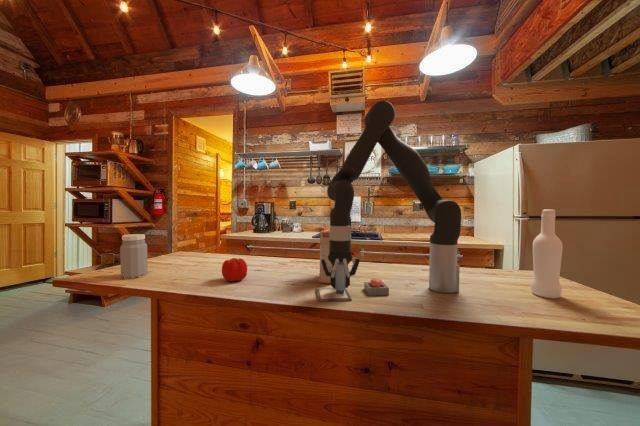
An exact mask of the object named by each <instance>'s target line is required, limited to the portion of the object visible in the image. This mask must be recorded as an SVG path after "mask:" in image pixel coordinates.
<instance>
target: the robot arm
mask: <svg viewBox="0 0 640 426" xmlns="http://www.w3.org/2000/svg"><path fill="white" fill-rule="evenodd" d="M395 117H396V110H395V107H394V106H393V104H392V103H391V102H389V101H387V100H380V101H377V102H376V103H374V104H373V105H372V106H371V108H370V109H368V112H367V113H366V114H365V115H364V120H363V122H364V130H363V131H362V133H361V135H360V136H359V138H358V139H357V141H356V142H355V144H354V146H353V147H352V148H351V149H350V151H349V153H348V155H347V157H346V159H345V160H344V162H343V164H342V166H341V167H340V169H339V170H338V171H337V172H336V174H335V175H334V176H333V177H332V180H331V181H330V182H329V184H328V186H327V189H326V190H327V191H326V194H327V197H328V198H329V199H330V200H331V201H332V202H334V206H333V208H332V209H331V210H330V213H329V229H330V230H329V255H328V257H327V258H324V259H323V258H322V259H321V262H322V265H323V268H324V271H325V274H326V276H330V287H332V288H335V277H334V276H335V272H336V269H337V266H338V262H339V261H343V263H344V267H345V272H346V289H348V288H349V287H350V286H351V277H352V276H356V272H357V270H358V267H359V264H360V261H361V260H360V259H359V258H358V257H354V256H353V255H352V230H351V228H352V227H351V212H352V209H353V204H354V198H355V189H354V186H353V184H352V183H353V182H354V181H356V180H357V179H359V178H360V176H361V174H362V172H363V170H364V169H365V166H366V165H367V162H368V161H369V158H370V157H371V155H372V153H373V152H374V149H375V147H376V145H377V143H378V144H379V146H380V147H381V148H382V149H383V151H384V152H385V154H386V155H387V156H388V158H389V160H390V161H391V162H392V163H393V165H394V167H395V168H396V170H397V172H398V173H399V174H400V176H401V177H402V178H403V180H404V181H405V182H406V184H407V185H408V187H409V188H410V189H411V191H412V192H413V193H414V195H415V196H416V197H417V199H418V200H419V202H420V204H421V206H422V208H423V209H424V212H425V214H426V215H427V217H428V219H429V220H430V221H431V222H433V223H434V226H433V227H434V228H433V233H431V234H430V237H429V267H428V268H429V271H428V273H429V274H428V280H429V281H428V288H429V289H430V290H431V291H433V292H436V293H440V294H441V293H444V294H454V293H457V292H460V273H461V271H460V269H461V268H460V267H461V266H460V264H458V240H459V238H460V235H461V228H462V227H461V226H462V210H461V207H460V205H459V204H458V203H457V202H456V201H454V200H451V199H444V198H443V197H442V195H441V194H440V193H439V192H438V190H437V189H436V188H435V186H434V183H433V182H432V181H433V180H432V177H431V173H430V171H429V168H428V165H427V164H426V162H425V161H424V159H423V158H422V155H420V154H419V152H418V151H417V150H416V149H415V148H413V147H412V146H411V145H409V144H407V143H406V142H404V141H402V140H401V139H400V138H399V137H398V136H397V135H396V134H395V132H394V131H393V129H392V128H391V125H392V123H393V122H394V121H395V120H394V119H395ZM328 260H329V261H330V262H331V264H332V268H331V272H329V271H328V269H327V266H326V264H327V263H328ZM351 262H352V266H351V269H349V266H348V265H349V264H350V263H351Z"/></svg>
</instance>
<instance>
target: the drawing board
mask: <svg viewBox="0 0 640 426" xmlns="http://www.w3.org/2000/svg"><path fill="white" fill-rule="evenodd" d="M347 289H348V288H346V289H345V290H344V294H337V293H336V290H335V289H334V288H333V287H332V288H316V289H315V291H316V299H317V302H318V303H319V302H321V303H323V302H326V303H327V302H328V303H329V302H352V301H353V299H352V297H351V295H350V293H349V291H348V290H347Z"/></svg>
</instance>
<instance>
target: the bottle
mask: <svg viewBox="0 0 640 426" xmlns="http://www.w3.org/2000/svg"><path fill="white" fill-rule="evenodd" d="M556 217H557V216H556V210H555V209H549V208H548V209H542V211H541V215H540V218H541V221H540V222H541V223H540V233H539V234H538V235H536V237H534V239H533V240H532V262H533V263H532V266H533V277H532V280H531V282H530V290H531V293H532V294H533V295H534V296H535V295H536V296H538V297H542V298H547V299H559V298H561V296H562V285H561V283H560V273H561V265H562V258H563V250H564V247H563V242H562V240H561V239H560V238H559V237H558V235H556Z"/></svg>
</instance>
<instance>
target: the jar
mask: <svg viewBox="0 0 640 426" xmlns="http://www.w3.org/2000/svg"><path fill="white" fill-rule="evenodd" d="M145 239H146V234H145V233H133V234H130V233H129V234H124V235H121V240H122V242H121V246H120V247H119V250H120V252H119V256H120V257H119V259H120V277H121V278H123V277H125V278H132V277H139V276H143V275H145V274H146V275H147V274H148V272H149V270H148V267H149V266H148V262H149V261H148V244H147V243H146V240H145ZM146 275H145V276H146ZM143 277H144V276H143ZM125 278H124V279H125ZM139 278H140V277H139Z"/></svg>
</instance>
